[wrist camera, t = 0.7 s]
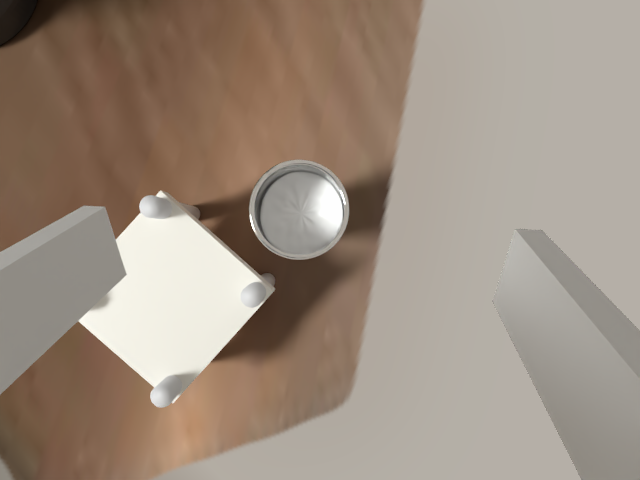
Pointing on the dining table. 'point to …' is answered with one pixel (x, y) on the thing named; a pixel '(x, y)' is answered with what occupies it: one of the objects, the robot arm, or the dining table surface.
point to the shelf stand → (175, 297)
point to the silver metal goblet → (299, 209)
